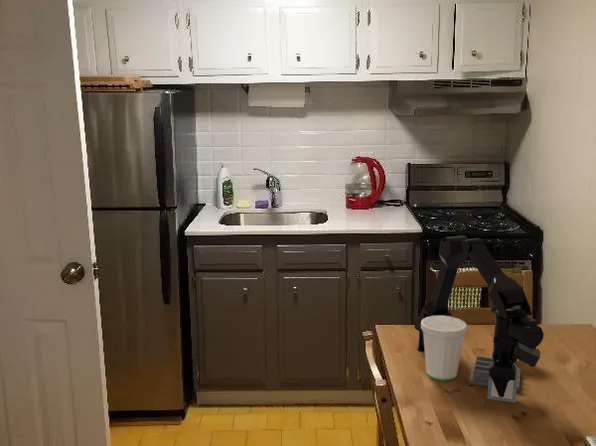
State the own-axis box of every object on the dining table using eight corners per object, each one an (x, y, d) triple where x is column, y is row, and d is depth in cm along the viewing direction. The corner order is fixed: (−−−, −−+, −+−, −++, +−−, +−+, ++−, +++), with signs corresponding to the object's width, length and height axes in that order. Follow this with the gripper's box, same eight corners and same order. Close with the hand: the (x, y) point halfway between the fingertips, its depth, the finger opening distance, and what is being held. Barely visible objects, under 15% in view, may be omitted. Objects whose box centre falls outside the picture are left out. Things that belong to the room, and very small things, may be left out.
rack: (468, 383, 177) (469, 371, 176) (473, 365, 188) (473, 354, 187) (518, 390, 172) (519, 378, 171) (520, 372, 183) (521, 360, 182)
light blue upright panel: (487, 398, 168) (489, 366, 166) (487, 395, 170) (489, 363, 168) (515, 402, 166) (517, 370, 164) (515, 400, 167) (518, 367, 165)
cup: (427, 361, 191) (429, 312, 187) (469, 370, 184) (472, 320, 181) (412, 377, 180) (414, 326, 177) (456, 388, 174) (459, 334, 171)
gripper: (539, 351, 152) (534, 412, 156) (540, 324, 170) (535, 379, 173) (490, 345, 156) (486, 404, 160) (495, 319, 173) (492, 373, 177)
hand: (502, 390), depth 167 cm, fingers open, 7 cm apart
